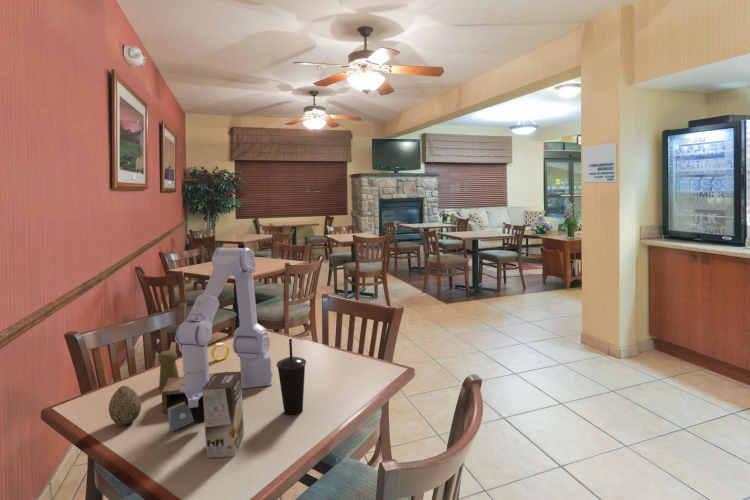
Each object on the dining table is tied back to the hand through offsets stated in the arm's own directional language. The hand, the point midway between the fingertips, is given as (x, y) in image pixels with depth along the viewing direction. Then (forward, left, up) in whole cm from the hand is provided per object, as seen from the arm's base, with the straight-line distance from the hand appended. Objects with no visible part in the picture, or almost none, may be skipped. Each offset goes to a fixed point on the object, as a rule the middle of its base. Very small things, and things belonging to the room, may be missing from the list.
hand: (200, 421), depth 106 cm
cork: (+13, -29, -2) cm, 32 cm away
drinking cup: (-23, -2, -2) cm, 23 cm away
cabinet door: (0, -5, -2) cm, 5 cm away
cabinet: (+3, -16, -2) cm, 16 cm away
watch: (0, -48, -2) cm, 48 cm away
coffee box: (-7, +10, -2) cm, 12 cm away
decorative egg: (+19, -8, -2) cm, 21 cm away
